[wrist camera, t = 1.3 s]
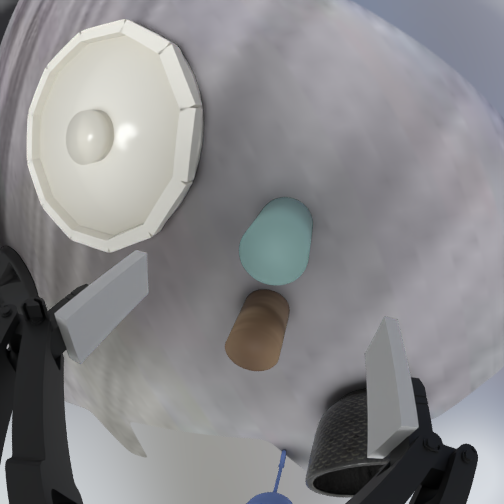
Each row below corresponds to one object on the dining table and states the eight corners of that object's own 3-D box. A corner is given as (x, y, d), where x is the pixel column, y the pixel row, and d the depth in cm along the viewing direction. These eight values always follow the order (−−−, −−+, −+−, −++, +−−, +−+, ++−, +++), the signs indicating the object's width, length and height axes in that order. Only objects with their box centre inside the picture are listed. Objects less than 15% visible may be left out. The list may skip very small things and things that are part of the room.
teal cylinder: (255, 241, 28) (234, 275, 22) (264, 191, 26) (244, 213, 20) (306, 253, 27) (299, 292, 21) (318, 204, 25) (316, 230, 19)
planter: (372, 434, 37) (371, 500, 26) (300, 415, 38) (285, 488, 26) (429, 387, 31) (443, 464, 19) (349, 361, 31) (348, 454, 20)
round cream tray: (43, 220, 35) (30, 227, 32) (49, 48, 23) (34, 47, 20) (191, 264, 31) (179, 278, 28) (223, 16, 19) (211, 6, 17)
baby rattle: (260, 439, 43) (234, 523, 28) (308, 444, 41) (291, 532, 25) (263, 457, 47) (241, 530, 31) (305, 461, 45) (289, 537, 29)
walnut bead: (241, 320, 32) (222, 362, 26) (247, 284, 30) (227, 324, 24) (283, 331, 32) (272, 376, 26) (294, 296, 29) (284, 340, 23)
